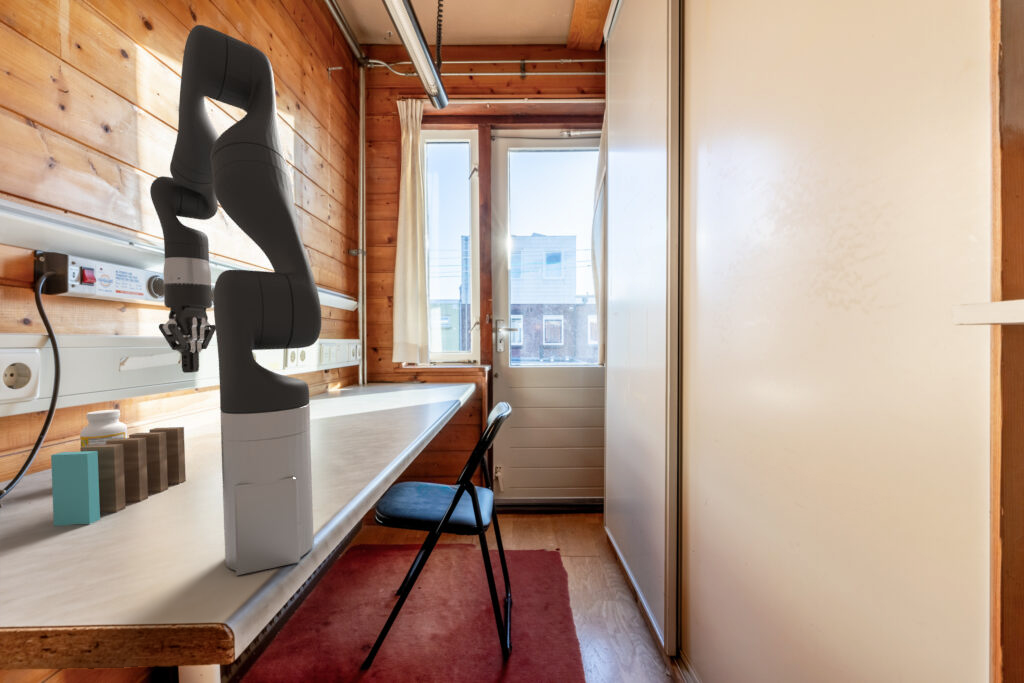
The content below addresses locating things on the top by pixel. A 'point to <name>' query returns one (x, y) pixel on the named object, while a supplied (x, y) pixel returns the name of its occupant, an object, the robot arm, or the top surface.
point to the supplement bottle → (102, 428)
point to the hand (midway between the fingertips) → (190, 372)
